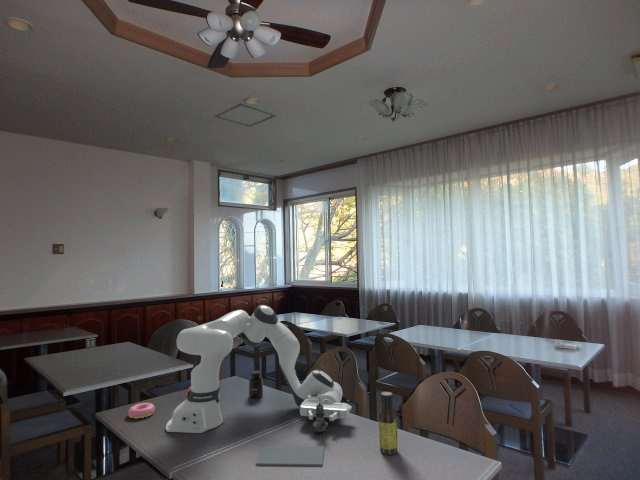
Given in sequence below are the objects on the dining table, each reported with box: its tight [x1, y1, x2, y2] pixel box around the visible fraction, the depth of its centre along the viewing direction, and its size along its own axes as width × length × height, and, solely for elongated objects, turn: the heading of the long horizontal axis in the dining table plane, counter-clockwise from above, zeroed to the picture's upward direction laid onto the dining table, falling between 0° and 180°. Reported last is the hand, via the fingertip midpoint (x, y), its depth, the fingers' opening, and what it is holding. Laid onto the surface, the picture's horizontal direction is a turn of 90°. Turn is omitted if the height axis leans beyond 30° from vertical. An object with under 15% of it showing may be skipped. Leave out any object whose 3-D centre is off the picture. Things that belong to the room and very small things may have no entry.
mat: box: [255, 444, 325, 467], centre depth 135 cm, size 22×12×1 cm, turn 86°
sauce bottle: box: [378, 391, 399, 455], centre depth 137 cm, size 6×6×20 cm
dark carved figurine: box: [312, 402, 329, 437], centre depth 152 cm, size 6×6×12 cm
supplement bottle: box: [248, 370, 264, 400], centre depth 192 cm, size 7×7×12 cm
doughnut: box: [127, 402, 156, 420], centre depth 172 cm, size 11×11×4 cm
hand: (320, 418), depth 152 cm, fingers open, 7 cm apart
